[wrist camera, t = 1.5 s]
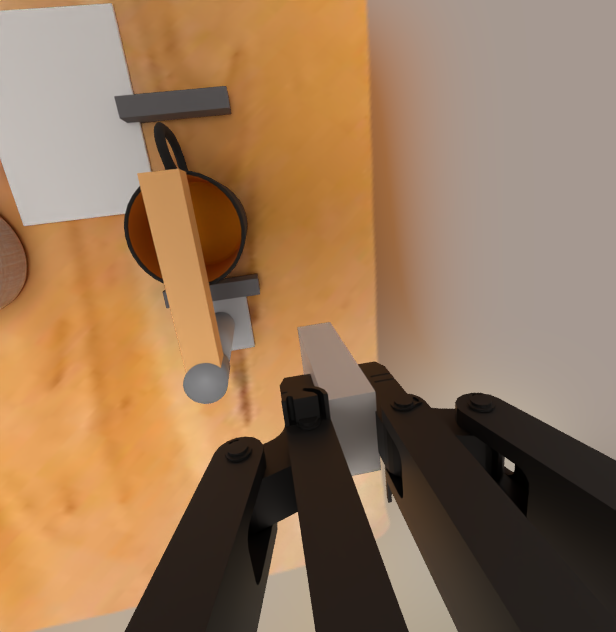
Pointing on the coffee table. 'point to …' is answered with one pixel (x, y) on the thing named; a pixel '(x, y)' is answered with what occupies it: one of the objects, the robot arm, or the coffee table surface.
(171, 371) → the coffee table surface
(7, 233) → the planter
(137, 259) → the mug
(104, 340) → the coffee table surface
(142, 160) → the mat
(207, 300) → the wooden bar
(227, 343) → the dock
